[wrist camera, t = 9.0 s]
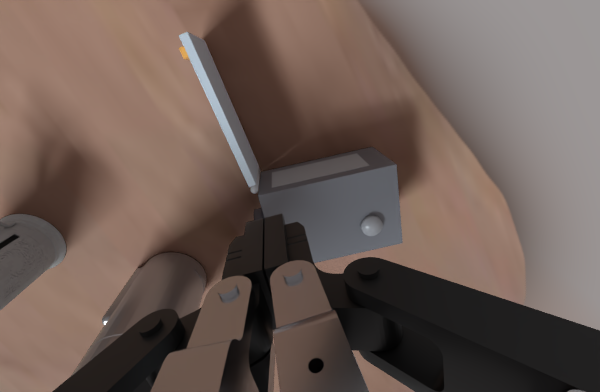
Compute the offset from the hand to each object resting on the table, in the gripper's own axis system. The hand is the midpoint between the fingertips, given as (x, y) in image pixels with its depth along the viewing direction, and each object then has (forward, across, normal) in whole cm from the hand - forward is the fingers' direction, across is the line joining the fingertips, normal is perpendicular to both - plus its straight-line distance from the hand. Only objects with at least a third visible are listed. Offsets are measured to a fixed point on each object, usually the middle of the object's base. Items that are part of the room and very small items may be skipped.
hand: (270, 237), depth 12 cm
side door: (+26, +4, -3) cm, 26 cm away
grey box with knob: (+26, -5, +10) cm, 28 cm away
